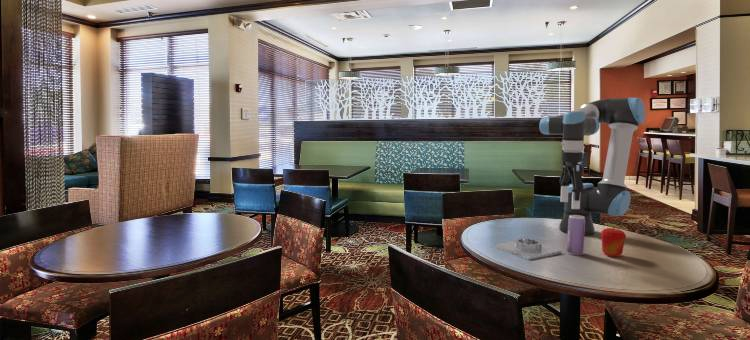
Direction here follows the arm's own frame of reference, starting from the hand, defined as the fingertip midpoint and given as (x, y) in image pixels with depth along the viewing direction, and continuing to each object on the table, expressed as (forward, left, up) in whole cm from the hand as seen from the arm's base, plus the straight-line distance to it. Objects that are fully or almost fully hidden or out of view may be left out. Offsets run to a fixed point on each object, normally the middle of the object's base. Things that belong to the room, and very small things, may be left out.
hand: (569, 205), depth 162 cm
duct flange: (+11, -9, -19) cm, 24 cm away
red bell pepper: (-14, +10, -20) cm, 26 cm away
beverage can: (-3, +2, -20) cm, 20 cm away
